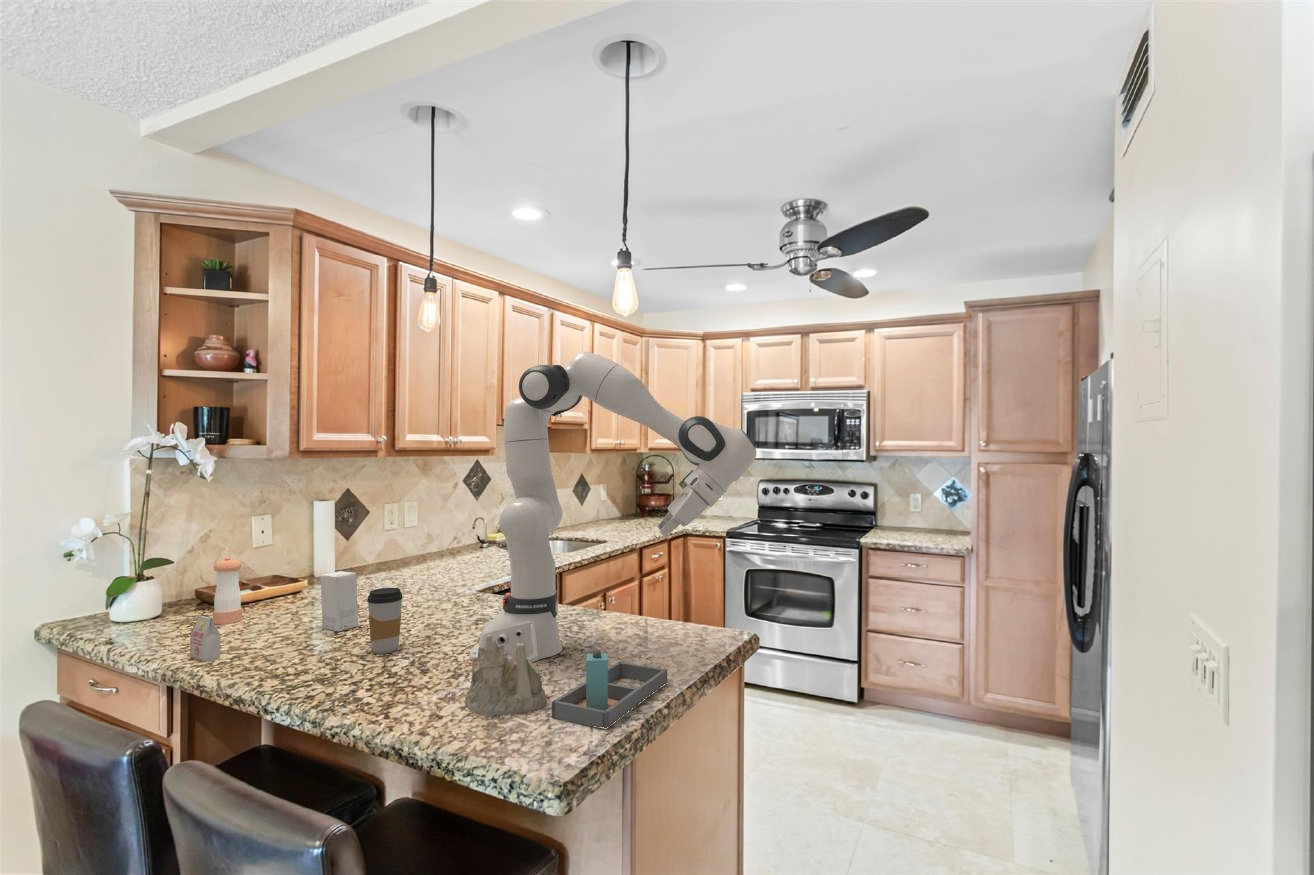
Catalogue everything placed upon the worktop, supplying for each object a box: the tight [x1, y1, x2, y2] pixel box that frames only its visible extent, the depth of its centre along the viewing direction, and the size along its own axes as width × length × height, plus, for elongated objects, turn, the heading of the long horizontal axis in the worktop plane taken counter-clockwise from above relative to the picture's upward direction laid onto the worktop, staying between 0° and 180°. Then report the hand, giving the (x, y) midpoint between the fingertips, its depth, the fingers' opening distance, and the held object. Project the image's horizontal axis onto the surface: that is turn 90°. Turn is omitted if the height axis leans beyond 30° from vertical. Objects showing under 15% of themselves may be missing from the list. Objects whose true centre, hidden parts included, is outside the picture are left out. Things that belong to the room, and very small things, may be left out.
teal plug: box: [585, 648, 609, 711], centre depth 123 cm, size 4×4×11 cm
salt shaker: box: [212, 556, 243, 625], centre depth 191 cm, size 7×7×19 cm
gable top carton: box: [189, 615, 221, 663], centre depth 157 cm, size 4×7×10 cm, turn 58°
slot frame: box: [551, 661, 668, 728], centre depth 129 cm, size 25×12×3 cm, turn 153°
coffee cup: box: [366, 587, 403, 655], centre depth 162 cm, size 8×8×15 cm
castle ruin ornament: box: [464, 634, 548, 717], centre depth 130 cm, size 16×16×15 cm
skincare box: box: [320, 570, 359, 632], centre depth 183 cm, size 8×7×16 cm
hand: (660, 531), depth 147 cm, fingers open, 8 cm apart
